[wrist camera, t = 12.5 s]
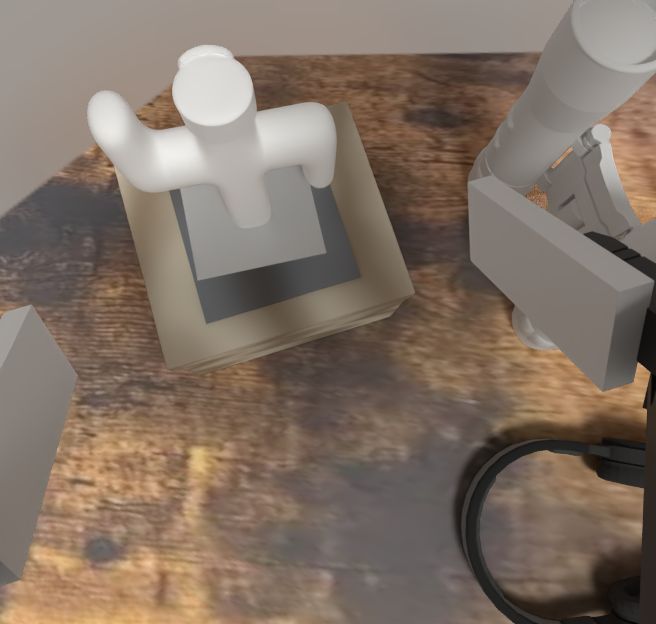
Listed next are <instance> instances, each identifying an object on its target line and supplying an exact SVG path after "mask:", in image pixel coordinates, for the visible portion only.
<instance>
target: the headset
mask: <svg viewBox="0 0 656 624" xmlns="http://www.w3.org/2000/svg"><path fill="white" fill-rule="evenodd" d="M543 450H548V451H551V452H554V453H561V454H569V455H575V456H580V455H582V454H583V453H587V454H588V453H590V454H595V455H597V456H596V457H600V458H601V459H599V461H598V464H597V467H596V472H597V475H598V477H600V478H602V479H604V480H607V481H611V482H616V483H620V484H625V485H630V486H635V487H640V488H644V478H645V452H646V444H645V443H639V442H632V441H625V440H619V439H612V438H603V439H602V444H598V443H597V445H591V444H586V443H580V442H574V441H568V440H562V439H550V438H540V439H531V440H525V441H522V442H519V443H516V444H513V445H510V446H508V447H506V448H505V449H503V450H501V451H499V452H498V453H496V454H495V455H493V456H492V457H491V458H490V459H489V460H488V461H487V462H486V463H484V464H483V465H482V467H481V468H480V469H479V471H478V472H477V473H476V475H475V476H474V477H473V479H472V481H471V483H470V486H469V488H468V490H467V492H466V495H465V499H464V503H463V508H462V514H461V534H462V541H463V548H464V551H465V554H466V557H467V560H468V563H469V566H470V568H471V570H472V572H473V573H474V575H475V577H476V579H477V581H478V583H479V584H480V586H481V588H482V589H483V591H484V592H485V594H486V595H487V596H488V598H489V599H490V600H491V601H492V603H493V604H494V605H495V606H496V608H497V609H498V610H499V611H500V612H502V613H503V614H504V615H505V616H506V617H507V618H509V619H510V620H511V621H512V622H513V623H515V624H639V607H640V581H641V576H638V577H633V578H628V579H625V580H622V581H619V582H617V583H615V584H613V585H612V586H611V587H610V588H609V592H608V596H609V601H610V604H611V605H612V607H613V608H612V613H611V614H608V615H603V616H598V617H590V616H581V617H573V618H562V619H561V620H555V619H549V618H543V617H540V616H537V615H534V614H531V613H529V612H526V611H524V610H522V609H521V608H519V607H517V606H516V605H514V604H512V603H511V602H510V601H508V600H507V599H506V598H505V597H504V596H503V593H502V591H501V589H500V588H499V586H498V585H497V584H496V583H495V581H494V580H493V578H492V576H491V574H490V572H489V570H488V568H487V566H486V563H485V560H484V557H483V554H482V550H481V543H480V536H479V532H480V517H481V512H482V508H483V503H484V501H485V499H486V496H487V494H488V492H489V490H490V488H491V487H492V485H493V484H494V482H495V480H496V475H497V474H498V473H500V472H501V471H502V470H503V469H504V468H505V467H506V466H507V465H508V464H510V463H512V462H513V461H515V460H517V459H518V458H520V457H522V456H525V455H528V454H531V453H534V452H537V451H543Z"/></svg>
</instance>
